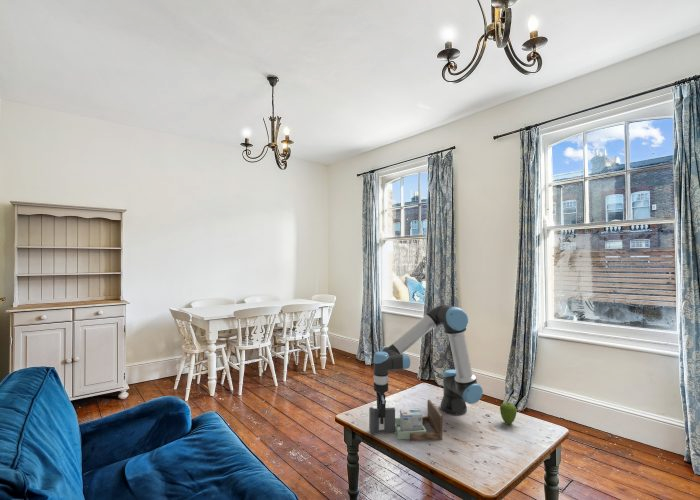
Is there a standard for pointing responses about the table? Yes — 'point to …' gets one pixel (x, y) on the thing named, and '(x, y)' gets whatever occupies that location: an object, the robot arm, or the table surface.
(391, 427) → the pull cradle
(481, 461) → the table surface
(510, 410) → the green rounded lump
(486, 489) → the table surface
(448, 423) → the table surface
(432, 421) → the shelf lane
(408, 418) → the light bulb box
